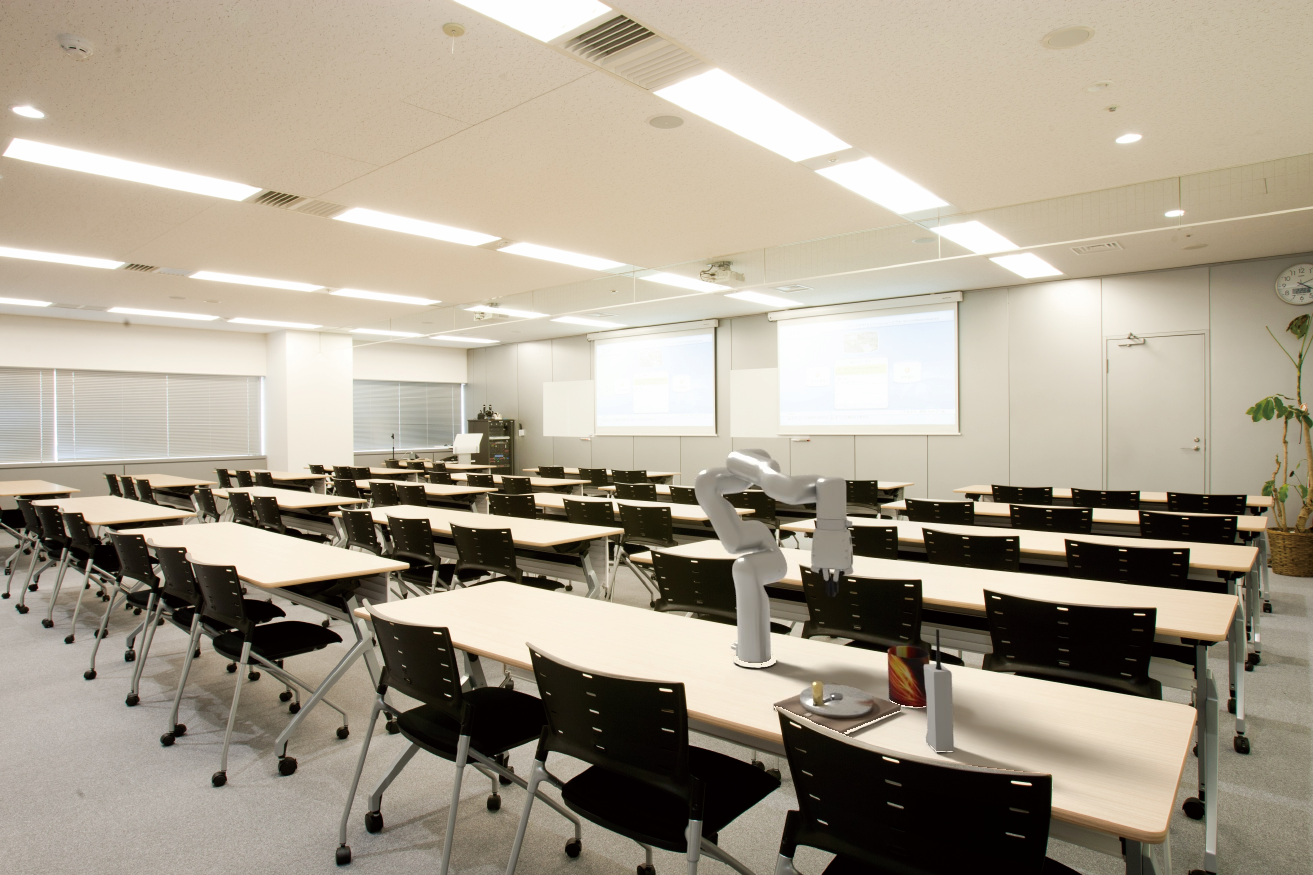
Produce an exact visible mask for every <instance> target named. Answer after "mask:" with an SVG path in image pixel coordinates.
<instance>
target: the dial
mask: <svg viewBox="0 0 1313 875" xmlns="http://www.w3.org/2000/svg"><path fill="white" fill-rule="evenodd" d="M811 684H812V685H811V686H810V687H807V688H804V689H803V690H802V691H801V692H800V693H799V694H800V704H801V706H802V707H803V708H804V709H806V710H807V711H809V712H811V713H814V714H817V715H820V716H825V717H830V718H856V717H861V716H864V715H867V714H869V713H870V712H872V711H873V709H874V700H873V697H872V696H873V695H872V696H871V694H870V693H868V692H867V691H865V690H863V689H859V688H858V687H853V686H850V685H843V684H840V685H827V684H824V683H823V682H822V681H819V680H814V681H812V683H811Z"/></svg>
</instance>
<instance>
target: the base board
mask: <svg viewBox="0 0 1313 875" xmlns="http://www.w3.org/2000/svg"><path fill="white" fill-rule="evenodd" d="M826 685H841V684H839V683H837V682H830V683H828V684H826ZM800 694H801V693H799V694H796V695H794V696H792V697H789V698H786V699H783V700H782V699H781V700H780V701H777V702H775V703H773V711H775V708H774V706H775V707H776V706H778V707H782V708H783V709H786V710H788V711H790V712H792V713H794V714H796V715H799V716H802V717H805V718H807V719H809V720H811V721H812V722H814V723H816V724H818V725H822V726H825V727H827V728H829V729H832V730H835V731H838V732H839V733H842V734H845V733H844V732H847V730H850V729H853V728H856V727H858V726H861V725H863V724H865V723H868V722H871V721H873V720H876V719H878V718H881V717H883V716H886V715H889V714H892V713H894V712H897V711H900V710H901V711H902V707H901V705H898V704H895V703H892V702H890V701H889V700H885V699H883V698H880V697H877V696H875V695H871V694H870V695H871V696H872V697H873V700H874V709H873V711H872V712H870V713H869V714H867V715H864V716H861V717H856V718H830V717H825V716H820V715H817V714H814V713H811V712H809V711H807V710H806V709H804V708H803V707H802V706H801V704H800ZM845 735H847V736H848V735H850V734H845Z"/></svg>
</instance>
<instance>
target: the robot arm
mask: <svg viewBox="0 0 1313 875" xmlns="http://www.w3.org/2000/svg"><path fill="white" fill-rule="evenodd" d="M754 485H755V486H758V487H759V488H760V487H761V489H762V492H763V493H764V494H765V495H766V496H768V497H769V498H771V499H774V500H776V501H778V502H781V503H783V504H788V505H792V506H793V505H794V506H795V505H803V504H814V503H815V504H816V509H815V510H816V528H814V530H813V533H812V534H813V535H812V539H811V540H812V543H811V553H810V555H811V556H810V563H811V566H810V571H812V572H813V573H817V574H819V575H820V576H821V577H822V578H823V580H825V593H827V597H833V598H835V597H836V595H837V594H838V593H839V580H840V579H841V578H842V577H843V576H849V575H852V574H854V568H853V564H854V554H853V553H854V552H853V541H852V533H851V531H850V529H847V528H850V527H853V521H850V520H848V518H847V482H846V479H845V478H843V477H840V476H825V475H822V474H815V473H814V474H799V475H787V474H784V473H782V472H781V466H780V464H779V462H778V461H776V460H774V459H773V458H772V457H771V455H770V454H769V452H767V451H766V450H764V449H762V448H742V449H741V448H740V449H735V450H733V451H732V452H731V453H729V454H728V456H727V458H726V459H725V466H716V467H710V468H706V469H704V470H703V469H702V471H700V472H698V474H697V476H696V477H695V482H694V493H695V497H696V500H697V502H698V505H699V506H700V508H701V509H702V511H703V512H704V513H705V515H706V516H707V518H708V519H709V521H710V523H711V525H712V527H713V530H714V531H715V533H716V535H717V537H718V539H719V541H720V543H721V545H722V546H723V549H724V550H725V551H726V552H727V553H729V555H740V556H739V557H737V559H735V560H734V562H733V564H732V570H731V571H732V573H731V574H732V578H733V582H734V588H735V595H736V596H735V597H736V598H735V599H736V619H737V620H736V623H737V640H735V641H734V642H733V644H731V646H730V649H731V650H733V651H735V655H736V656H738V658H739V660H741V661H744V662H748V663H763V662H767V661H769V660H770V659H771V654H772V650H771V649H772V648H771V647H772V646H771V613H770V612H771V611H770V605H771V604H770V599H769V595H768V594H767V592H766V590H765V587H764V585H768V584H772V583H777V582H780V581H782V580H783V579H785V577H786V575H787V574H788V563H787V559H786V557H785V556H784V554H783V551H782V550H781V548H780V547H779V545H778V543H777V541H776V539H775V537H774V535H773V533H772V532H771V530H770V529H769V528H768V526H767V525H766V524H765V523H763V522H762V521H760V520H752V519H751V520H743V519H742V518H741V517H740V515H739V514H738V512H737V510H736V508H735V507H734V505H733V504H732V503H731V502H730V501H728V500H727V499H726V498H725V497H723V496H722V495H729V494H739V493H742V492H745V491H747V490H748V489H749V488H751V487H752V486H754ZM741 554H743V555H741ZM831 570H834V572H833V577H832V576H831ZM761 665H762V664H761Z"/></svg>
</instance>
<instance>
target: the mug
mask: <svg viewBox="0 0 1313 875" xmlns="http://www.w3.org/2000/svg"><path fill="white" fill-rule="evenodd" d="M924 664H930V652H929V651H928V650H926V649H923V648H921V647H918V646H917V647H916V646H908V645H901V646H900V645H899V646H892V647H890V648H888V649H887V672H888V674H887V676H888V677H887V678H888V679H887V680H888V682H887V683H888V700H889V699H890V700H891V701H893V702H895V703H897V704H900V705H905V706H913V707H923V706H927V696H926V689H925V677H924Z"/></svg>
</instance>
